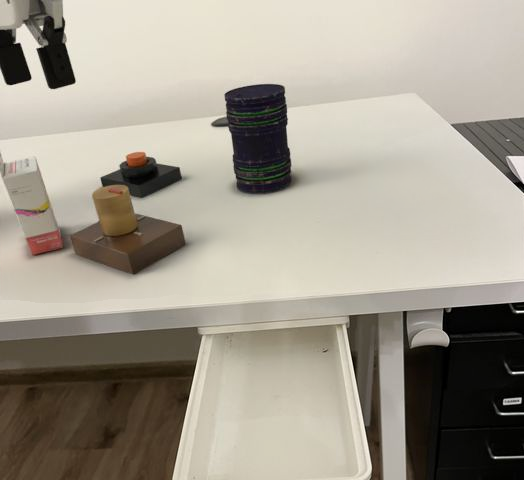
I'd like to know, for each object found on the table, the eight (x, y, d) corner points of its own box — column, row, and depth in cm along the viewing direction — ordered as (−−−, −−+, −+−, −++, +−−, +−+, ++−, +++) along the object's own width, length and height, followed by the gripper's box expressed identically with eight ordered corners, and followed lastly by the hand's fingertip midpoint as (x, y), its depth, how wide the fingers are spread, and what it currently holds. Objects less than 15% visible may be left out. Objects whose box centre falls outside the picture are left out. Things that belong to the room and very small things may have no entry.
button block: (103, 189, 102) (97, 167, 100) (143, 171, 108) (138, 151, 106) (141, 197, 96) (136, 175, 94) (182, 178, 102) (177, 157, 100)
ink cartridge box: (65, 248, 82) (30, 148, 74) (31, 256, 81) (-8, 156, 72) (60, 228, 89) (28, 134, 80) (29, 235, 88) (-8, 141, 79)
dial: (95, 232, 78) (83, 192, 75) (122, 219, 81) (112, 180, 78) (117, 238, 75) (106, 198, 72) (145, 224, 78) (135, 185, 75)
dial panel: (75, 254, 80) (68, 234, 78) (127, 228, 86) (122, 208, 84) (133, 274, 73) (127, 253, 71) (185, 244, 79) (181, 223, 77)
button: (124, 166, 100) (121, 156, 99) (138, 160, 102) (136, 150, 101) (136, 169, 98) (134, 159, 97) (151, 162, 100) (149, 153, 99)
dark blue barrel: (271, 169, 101) (263, 81, 92) (304, 182, 94) (298, 87, 85) (225, 184, 97) (212, 94, 88) (255, 199, 90) (244, 101, 81)
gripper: (-94, -93, 56) (-24, 88, 66) (-19, -123, 46) (50, 96, 56) (-24, -97, 60) (31, 75, 70) (59, -125, 50) (110, 80, 60)
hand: (40, 84), depth 63 cm, fingers open, 9 cm apart
